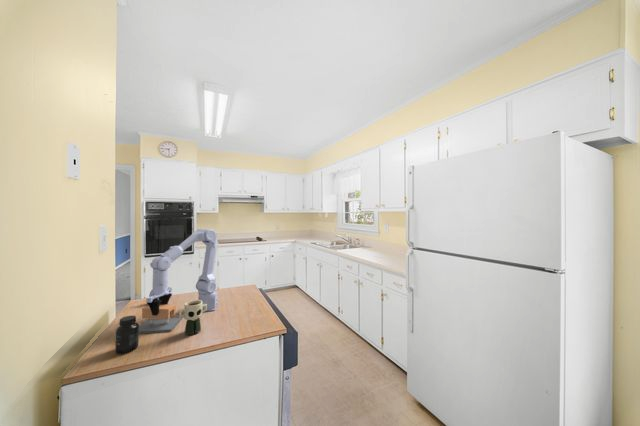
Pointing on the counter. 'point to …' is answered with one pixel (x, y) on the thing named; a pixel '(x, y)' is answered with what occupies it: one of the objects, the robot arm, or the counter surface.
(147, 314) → the rectangular block
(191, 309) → the character mug
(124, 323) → the supplement bottle
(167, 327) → the post board
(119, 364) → the counter surface
